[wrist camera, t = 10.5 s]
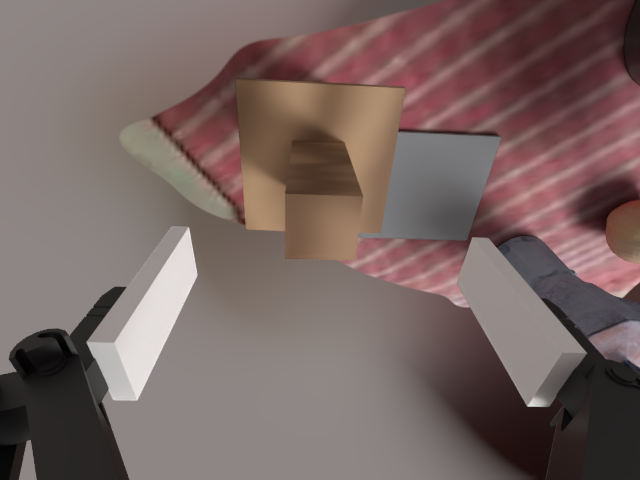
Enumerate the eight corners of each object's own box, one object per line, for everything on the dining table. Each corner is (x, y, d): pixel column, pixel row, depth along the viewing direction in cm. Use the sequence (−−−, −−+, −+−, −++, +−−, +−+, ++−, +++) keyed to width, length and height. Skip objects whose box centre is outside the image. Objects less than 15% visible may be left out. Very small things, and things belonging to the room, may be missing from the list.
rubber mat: (499, 135, 39) (501, 137, 38) (465, 238, 46) (466, 240, 45) (371, 129, 38) (372, 131, 37) (357, 235, 45) (358, 237, 45)
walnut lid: (402, 86, 24) (460, 118, 15) (378, 227, 31) (409, 312, 21) (237, 77, 24) (192, 105, 14) (247, 224, 30) (221, 309, 21)
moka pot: (579, 238, 47) (735, 355, 30) (496, 308, 53) (585, 437, 36) (534, 207, 44) (678, 317, 27) (453, 286, 50) (527, 414, 33)
